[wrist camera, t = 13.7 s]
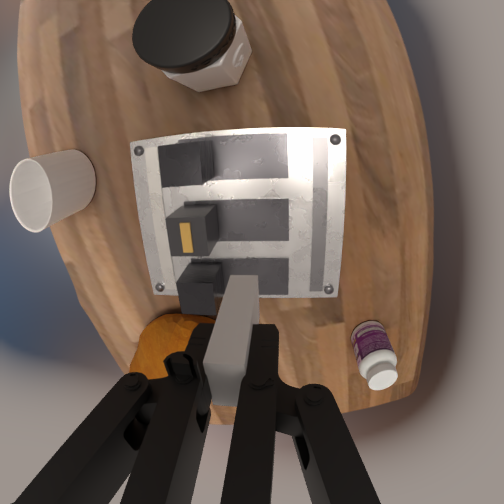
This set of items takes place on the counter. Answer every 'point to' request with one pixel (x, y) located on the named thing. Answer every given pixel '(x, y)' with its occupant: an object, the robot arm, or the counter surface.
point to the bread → (163, 342)
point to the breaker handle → (192, 230)
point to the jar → (193, 42)
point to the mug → (51, 188)
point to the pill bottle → (374, 355)
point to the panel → (246, 210)
